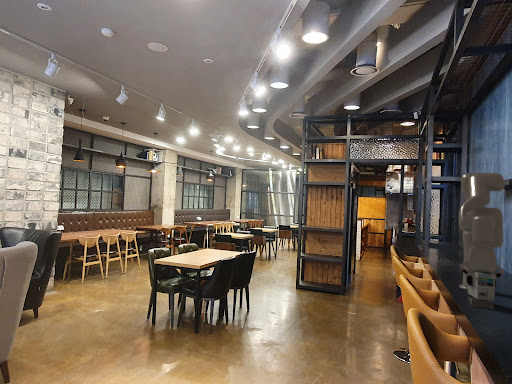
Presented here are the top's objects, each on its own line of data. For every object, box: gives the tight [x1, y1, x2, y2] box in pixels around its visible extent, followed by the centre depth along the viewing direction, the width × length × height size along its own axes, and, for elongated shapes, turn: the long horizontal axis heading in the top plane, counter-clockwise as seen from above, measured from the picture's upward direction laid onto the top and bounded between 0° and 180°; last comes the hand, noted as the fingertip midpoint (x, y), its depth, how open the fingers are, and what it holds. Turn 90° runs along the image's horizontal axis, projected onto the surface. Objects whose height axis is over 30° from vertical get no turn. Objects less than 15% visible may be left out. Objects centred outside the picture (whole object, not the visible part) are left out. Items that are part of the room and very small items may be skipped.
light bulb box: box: [467, 271, 496, 302], centre depth 151 cm, size 11×7×11 cm, turn 168°
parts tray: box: [468, 294, 495, 310], centre depth 150 cm, size 15×8×3 cm, turn 153°
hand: (480, 286), depth 151 cm, fingers closed on light bulb box, 7 cm apart
